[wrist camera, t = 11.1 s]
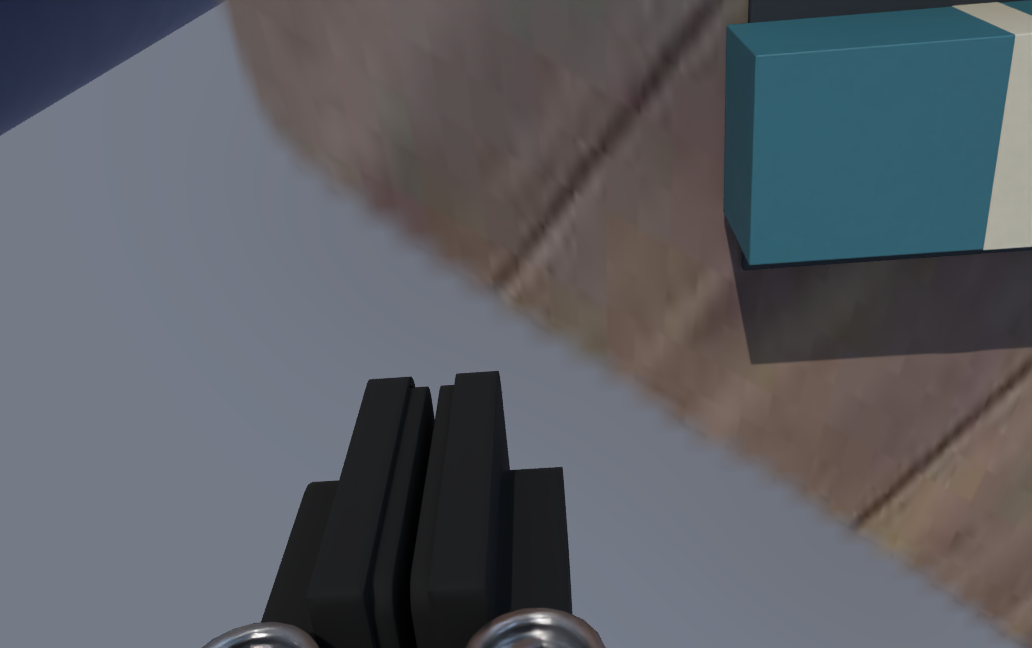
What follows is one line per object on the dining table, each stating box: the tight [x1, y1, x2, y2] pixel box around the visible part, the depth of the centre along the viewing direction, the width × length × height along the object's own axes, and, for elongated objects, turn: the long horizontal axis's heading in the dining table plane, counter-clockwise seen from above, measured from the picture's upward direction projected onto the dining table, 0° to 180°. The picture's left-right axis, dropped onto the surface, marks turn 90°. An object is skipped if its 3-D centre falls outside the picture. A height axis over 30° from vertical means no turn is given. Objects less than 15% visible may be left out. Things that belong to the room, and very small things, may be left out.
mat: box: [742, 0, 1032, 270], centre depth 35 cm, size 20×12×1 cm, turn 95°
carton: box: [724, 0, 1032, 265], centre depth 33 cm, size 5×7×12 cm
